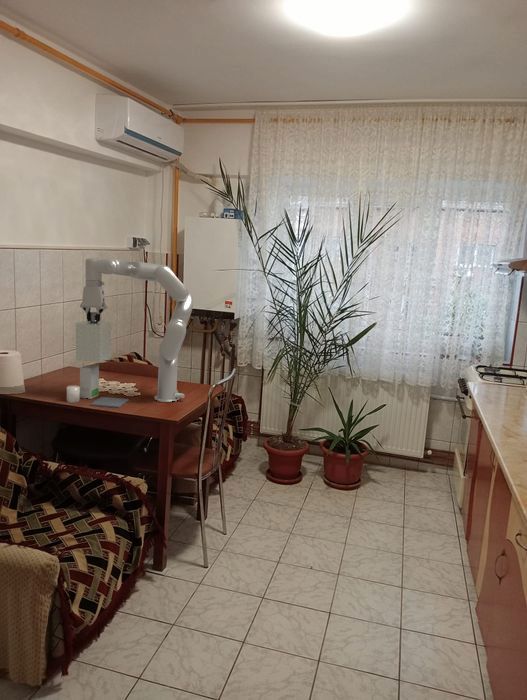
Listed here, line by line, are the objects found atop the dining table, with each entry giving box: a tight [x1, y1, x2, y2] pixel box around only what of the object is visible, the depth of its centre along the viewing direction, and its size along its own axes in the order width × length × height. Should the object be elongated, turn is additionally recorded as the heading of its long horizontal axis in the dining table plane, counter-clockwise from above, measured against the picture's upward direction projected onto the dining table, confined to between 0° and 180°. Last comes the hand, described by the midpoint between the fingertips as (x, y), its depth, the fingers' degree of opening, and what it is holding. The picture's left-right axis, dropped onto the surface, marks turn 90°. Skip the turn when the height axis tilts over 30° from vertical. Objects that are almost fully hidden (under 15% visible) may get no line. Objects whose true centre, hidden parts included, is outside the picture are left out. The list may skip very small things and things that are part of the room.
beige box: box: [75, 311, 112, 363], centre depth 265 cm, size 12×13×23 cm
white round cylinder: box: [66, 384, 81, 403], centre depth 262 cm, size 6×6×7 cm
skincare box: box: [79, 364, 100, 400], centre depth 270 cm, size 8×7×16 cm
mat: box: [90, 396, 130, 409], centre depth 262 cm, size 14×14×1 cm
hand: (93, 321), depth 264 cm, fingers closed on beige box, 3 cm apart
